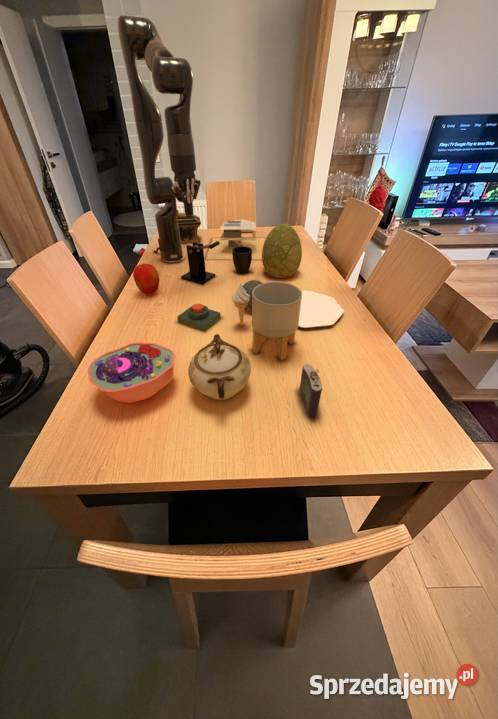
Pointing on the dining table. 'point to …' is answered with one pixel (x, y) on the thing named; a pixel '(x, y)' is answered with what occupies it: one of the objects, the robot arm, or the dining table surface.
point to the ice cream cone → (241, 301)
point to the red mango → (146, 278)
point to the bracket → (196, 266)
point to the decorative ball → (250, 290)
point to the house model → (236, 240)
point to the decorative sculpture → (282, 252)
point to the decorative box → (188, 227)
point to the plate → (318, 310)
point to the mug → (242, 259)
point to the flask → (310, 390)
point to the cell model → (133, 371)
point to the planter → (275, 314)
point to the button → (198, 308)
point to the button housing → (199, 318)
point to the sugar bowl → (219, 369)
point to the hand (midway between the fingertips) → (189, 215)
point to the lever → (207, 246)
